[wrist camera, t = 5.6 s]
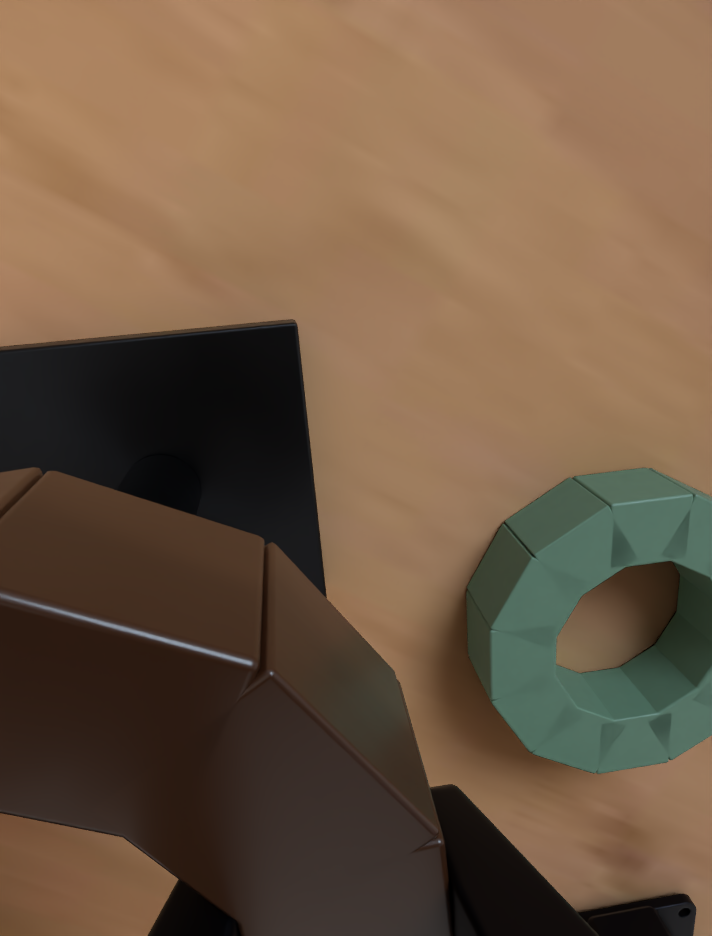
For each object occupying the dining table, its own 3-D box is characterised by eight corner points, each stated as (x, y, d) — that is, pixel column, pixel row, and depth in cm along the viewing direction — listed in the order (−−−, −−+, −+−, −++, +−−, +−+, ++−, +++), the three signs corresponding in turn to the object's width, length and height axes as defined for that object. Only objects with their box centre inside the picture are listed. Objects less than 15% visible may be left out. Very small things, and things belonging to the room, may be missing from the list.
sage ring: (719, 698, 23) (768, 746, 21) (469, 737, 22) (491, 792, 20) (749, 453, 20) (810, 479, 18) (462, 488, 19) (488, 519, 17)
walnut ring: (437, 982, 10) (484, 1196, 8) (-179, 1116, 9) (-321, 1391, 7) (365, 413, 7) (408, 494, 5) (-562, 559, 6) (-1029, 732, 4)
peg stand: (324, 585, 20) (358, 790, 12) (53, 621, 19) (-89, 863, 11) (295, 318, 17) (316, 369, 10) (-19, 348, 16) (-267, 428, 9)
